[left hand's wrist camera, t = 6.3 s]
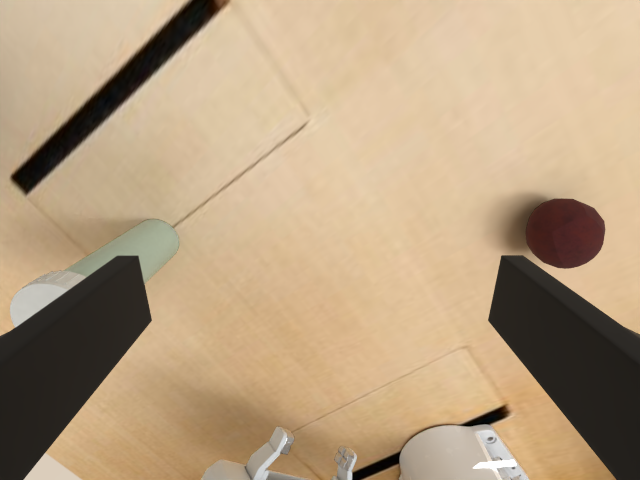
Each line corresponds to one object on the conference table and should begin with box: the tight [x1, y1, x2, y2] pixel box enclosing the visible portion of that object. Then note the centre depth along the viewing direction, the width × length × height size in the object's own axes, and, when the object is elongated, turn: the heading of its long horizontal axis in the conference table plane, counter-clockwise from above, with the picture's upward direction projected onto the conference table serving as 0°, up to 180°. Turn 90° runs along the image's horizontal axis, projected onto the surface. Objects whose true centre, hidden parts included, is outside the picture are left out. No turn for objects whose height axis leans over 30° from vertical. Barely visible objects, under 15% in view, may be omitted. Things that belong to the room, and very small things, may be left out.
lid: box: [10, 271, 86, 328], centre depth 27 cm, size 6×6×2 cm
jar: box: [64, 219, 179, 284], centre depth 34 cm, size 5×5×17 cm
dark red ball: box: [526, 199, 605, 268], centre depth 37 cm, size 7×8×7 cm
